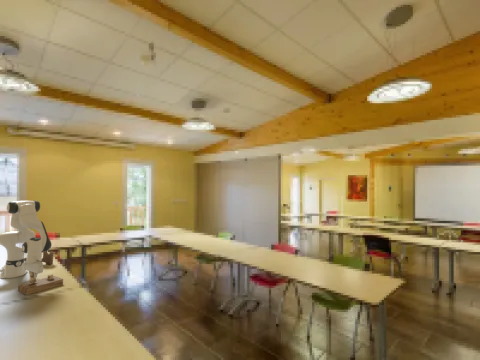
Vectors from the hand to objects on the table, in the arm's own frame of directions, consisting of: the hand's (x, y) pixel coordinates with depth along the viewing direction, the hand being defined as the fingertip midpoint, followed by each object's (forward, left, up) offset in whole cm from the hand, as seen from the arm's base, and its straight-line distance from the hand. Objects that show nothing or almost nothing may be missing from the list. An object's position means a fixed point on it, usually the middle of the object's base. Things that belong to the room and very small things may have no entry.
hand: (33, 277), depth 191 cm
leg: (0, 0, -4) cm, 4 cm away
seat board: (0, +6, -10) cm, 12 cm away
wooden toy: (-62, +37, -10) cm, 73 cm away
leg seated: (0, +12, -10) cm, 16 cm away
